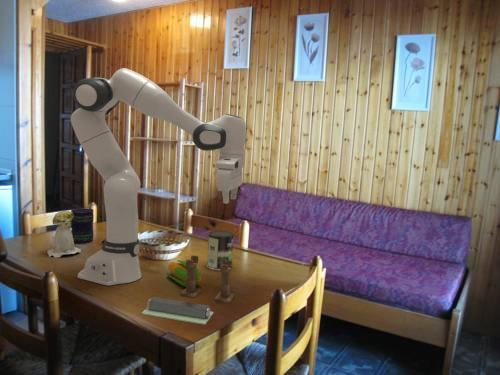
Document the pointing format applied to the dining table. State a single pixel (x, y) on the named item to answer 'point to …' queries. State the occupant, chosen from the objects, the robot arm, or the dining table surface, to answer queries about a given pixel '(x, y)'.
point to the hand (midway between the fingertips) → (229, 201)
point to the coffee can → (219, 248)
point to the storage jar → (82, 225)
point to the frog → (63, 235)
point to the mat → (177, 316)
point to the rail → (178, 307)
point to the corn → (182, 273)
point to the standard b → (225, 283)
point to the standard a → (191, 278)
